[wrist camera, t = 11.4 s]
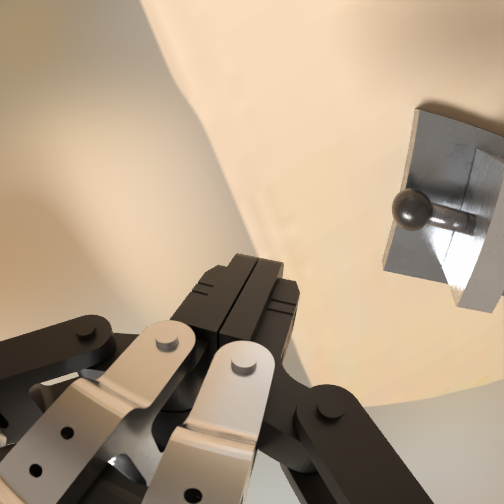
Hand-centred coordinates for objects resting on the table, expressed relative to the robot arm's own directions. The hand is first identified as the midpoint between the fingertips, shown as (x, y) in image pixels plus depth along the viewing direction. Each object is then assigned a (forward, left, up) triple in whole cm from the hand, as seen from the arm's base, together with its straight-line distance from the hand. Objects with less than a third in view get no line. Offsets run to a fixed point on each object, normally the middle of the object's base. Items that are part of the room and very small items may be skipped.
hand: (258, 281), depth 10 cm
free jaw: (-10, 0, -13) cm, 16 cm away
